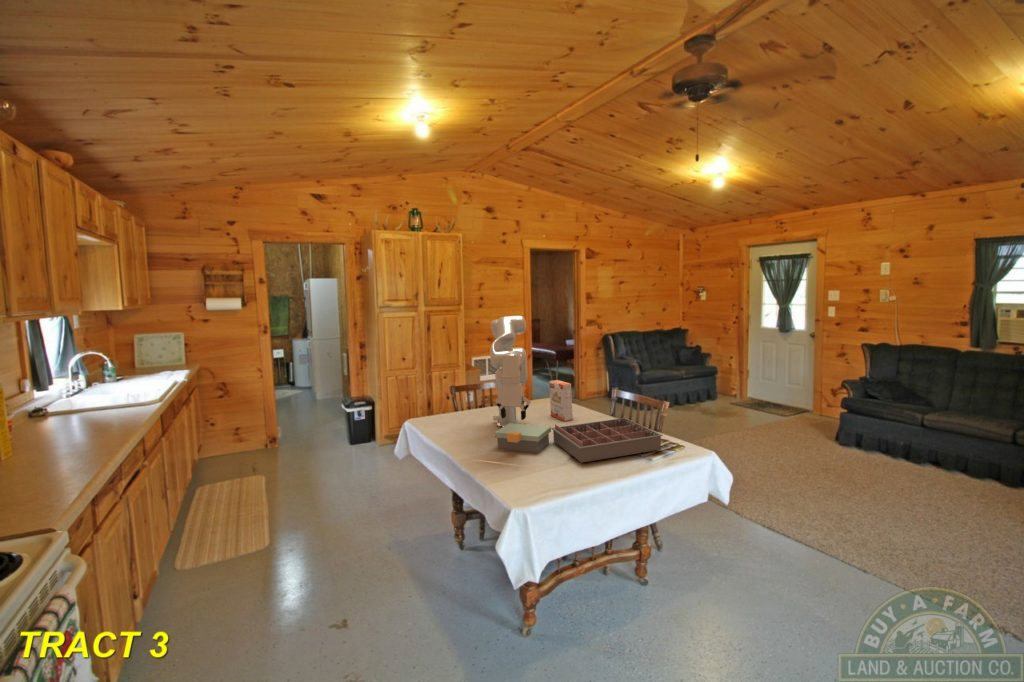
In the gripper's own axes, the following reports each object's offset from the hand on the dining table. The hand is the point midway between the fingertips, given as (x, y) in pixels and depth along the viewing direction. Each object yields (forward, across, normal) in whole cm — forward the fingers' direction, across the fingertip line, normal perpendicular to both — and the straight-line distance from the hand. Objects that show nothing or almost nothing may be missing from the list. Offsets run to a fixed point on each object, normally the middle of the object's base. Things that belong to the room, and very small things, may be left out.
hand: (513, 418), depth 223 cm
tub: (+17, 0, +11) cm, 20 cm away
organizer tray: (+17, +36, +22) cm, 45 cm away
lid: (+10, 0, +9) cm, 13 cm away
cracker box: (+16, 0, +64) cm, 66 cm away
